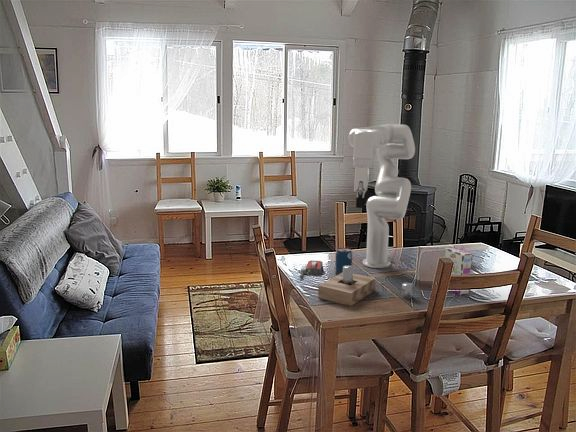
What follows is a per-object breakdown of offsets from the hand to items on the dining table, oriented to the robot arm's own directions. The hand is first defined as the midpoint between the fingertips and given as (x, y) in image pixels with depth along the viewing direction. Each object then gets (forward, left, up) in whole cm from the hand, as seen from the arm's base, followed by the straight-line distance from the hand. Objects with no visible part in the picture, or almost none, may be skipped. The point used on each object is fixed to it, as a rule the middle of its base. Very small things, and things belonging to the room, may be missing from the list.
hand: (361, 205), depth 212 cm
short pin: (+4, +23, -32) cm, 40 cm away
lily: (-50, +26, -33) cm, 65 cm away
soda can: (-2, -8, -32) cm, 34 cm away
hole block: (+15, +3, -32) cm, 36 cm away
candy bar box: (-14, +36, -32) cm, 50 cm away
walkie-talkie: (+1, -22, -33) cm, 40 cm away
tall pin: (+15, +3, -32) cm, 36 cm away
